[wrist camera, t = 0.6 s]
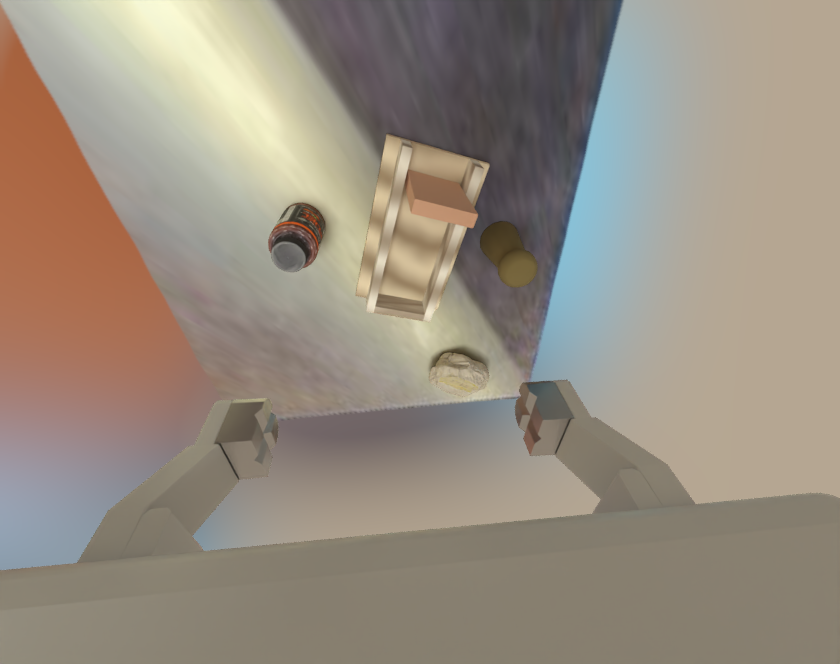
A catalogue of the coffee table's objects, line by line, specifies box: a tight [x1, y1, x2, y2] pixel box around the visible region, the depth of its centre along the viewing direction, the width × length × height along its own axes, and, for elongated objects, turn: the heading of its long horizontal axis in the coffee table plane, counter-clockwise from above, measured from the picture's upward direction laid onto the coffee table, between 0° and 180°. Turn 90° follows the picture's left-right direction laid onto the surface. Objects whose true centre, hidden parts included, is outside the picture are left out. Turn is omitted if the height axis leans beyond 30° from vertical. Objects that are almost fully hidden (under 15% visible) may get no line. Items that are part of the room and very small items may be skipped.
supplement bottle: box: [268, 203, 325, 272], centre depth 46 cm, size 6×6×11 cm
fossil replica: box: [429, 352, 489, 397], centre depth 68 cm, size 12×8×10 cm
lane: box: [356, 134, 490, 322], centre depth 52 cm, size 24×14×5 cm, turn 164°
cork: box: [480, 221, 537, 287], centre depth 51 cm, size 6×6×11 cm
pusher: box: [405, 170, 478, 228], centre depth 43 cm, size 2×7×12 cm, turn 75°
